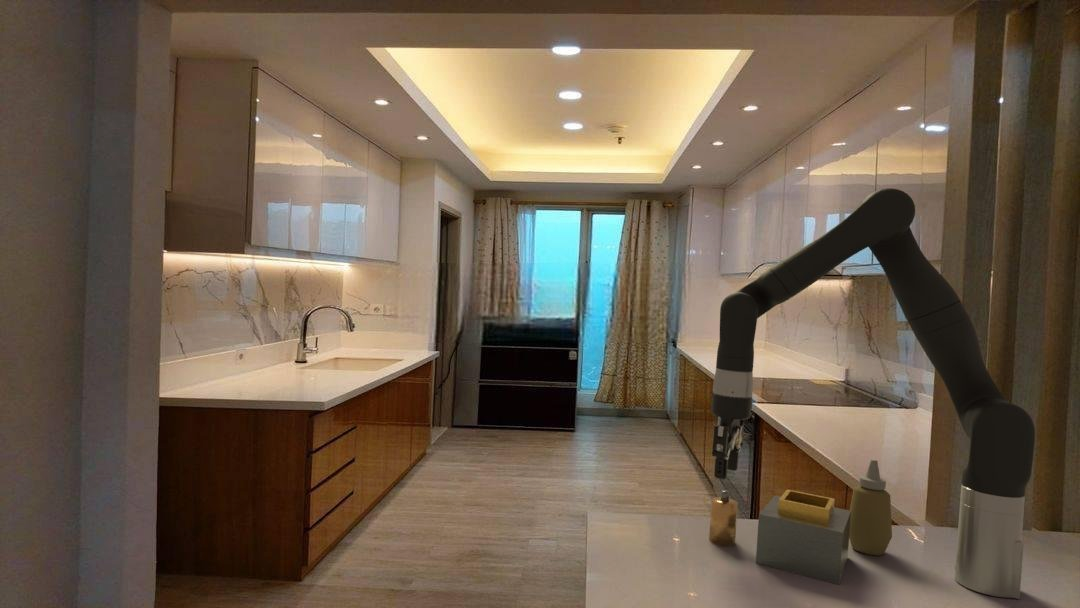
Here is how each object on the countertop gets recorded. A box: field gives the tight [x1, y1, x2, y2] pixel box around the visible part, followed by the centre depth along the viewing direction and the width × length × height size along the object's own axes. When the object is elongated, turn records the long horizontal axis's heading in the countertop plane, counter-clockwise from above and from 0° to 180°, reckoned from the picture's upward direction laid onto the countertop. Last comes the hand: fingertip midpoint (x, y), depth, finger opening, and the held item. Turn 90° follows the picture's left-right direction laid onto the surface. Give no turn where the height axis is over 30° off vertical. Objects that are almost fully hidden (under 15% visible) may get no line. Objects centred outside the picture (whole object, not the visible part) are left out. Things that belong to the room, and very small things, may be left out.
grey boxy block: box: [755, 489, 851, 585], centre depth 120 cm, size 14×15×12 cm
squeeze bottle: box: [849, 459, 893, 556], centre depth 128 cm, size 8×8×18 cm
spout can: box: [708, 489, 739, 547], centre depth 128 cm, size 5×5×10 cm
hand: (726, 473), depth 128 cm, fingers open, 8 cm apart
